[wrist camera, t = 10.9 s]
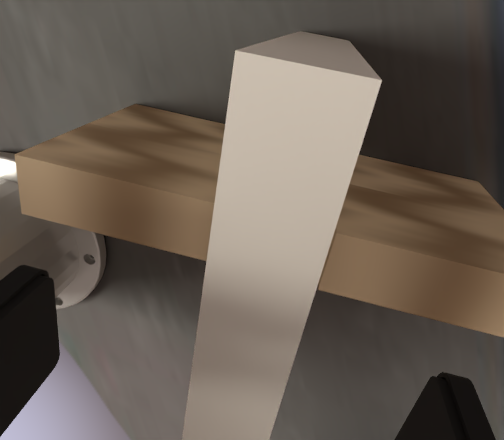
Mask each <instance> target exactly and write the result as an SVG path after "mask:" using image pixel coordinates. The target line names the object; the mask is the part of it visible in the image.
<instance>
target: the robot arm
mask: <svg viewBox="0 0 504 440" xmlns="http://www.w3.org/2000/svg"><path fill="white" fill-rule="evenodd" d="M105 266H106V246H105V240H104V236H103V234H99V233H95V232H91V231H87V230H83V229H79V228H75V227H71V226H68V225H64V224H60V223H56V222H52V221H48V220H44V219H40V218H36V217H32V216H29V215H25V214H22V212H21V204H20V196H19V188H18V179H17V171H16V163H15V155H14V154H13V153H7V152H0V436H1V435H2V434H3V432H4V431H5V430H6V429H7V428H8V426H9V425H10V424H11V422H12V421H13V420H14V419H15V417H16V416H17V415H18V414H19V412H20V411H21V410H22V409H23V407H24V406H25V405H26V403H27V402H28V401H29V400H30V398H31V397H32V396H33V395H34V393H35V392H36V391H37V389H38V388H39V387H40V386H41V384H42V383H43V382H44V381H45V379H46V378H47V377H48V375H49V374H50V373H51V372H52V370H53V369H54V368H55V366H56V364H57V362H58V360H59V355H60V352H59V339H58V326H57V314H56V309H61V308H67V307H70V306H72V305H75V304H77V303H79V302H80V301H82V300H83V299H85V298H86V297H87V296H88V295H89V294H90V293H91V292H92V291H93V290H94V289H95V287H96V286H97V285H98V283H99V281H100V280H101V278H102V276H103V273H104V269H105ZM395 440H496V439H495V437H494V434H493V432H492V429H491V427H490V424H489V422H488V420H487V417H486V415H485V412H484V410H483V407H482V405H481V402H480V400H479V398H478V395H477V393H476V390H475V388H474V385H473V384H472V382H471V381H470V380H469V379H468V378H464V377H460V376H456V375H452V374H448V373H444V372H442V373H440V374H439V375H438V376H437V377H434V376H432V377H431V378H430V379H429V381H428V382H427V384H426V386H425V388H424V389H423V391H422V393H421V395H420V396H419V398H418V400H417V402H416V403H415V405H414V407H413V409H412V410H411V412H410V414H409V416H408V417H407V419H406V421H405V423H404V424H403V426H402V428H401V430H400V431H399V433H398V435H397V437H396V438H395Z"/></svg>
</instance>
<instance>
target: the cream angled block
mask: <svg viewBox="0 0 504 440" xmlns="http://www.w3.org/2000/svg"><path fill="white" fill-rule="evenodd" d="M381 82H382V80H381V78H380V77H379V76H378V75H377V74H376V72H375V71H374V70H373V69H372V68H371V66H370V65H369V64H368V63H367V62H366V60H365V59H364V58H363V57H362V56H361V54H360V53H359V52H358V51H357V50H356V48H355V47H354V46H353V45H352V43H351V42H350V41H349V40H344V39H338V38H333V37H328V36H323V35H318V34H313V33H308V32H303V31H299V32H295V33H292V34H288V35H285V36H282V37H278V38H275V39H272V40H268V41H265V42H262V43H258V44H255V45H252V46H248V47H245V48H242V49H238V50H235V57H234V64H233V72H232V79H231V86H230V94H229V101H228V108H227V115H226V123H225V130H224V137H223V145H222V152H221V159H220V166H219V174H218V181H217V188H216V196H215V203H214V210H213V217H212V225H211V232H210V239H209V247H208V254H207V261H206V268H205V276H204V283H203V290H202V298H201V305H200V312H199V320H198V327H197V334H196V341H195V349H194V356H193V363H192V371H191V378H190V385H189V392H188V400H187V407H186V414H185V422H184V429H183V436H182V440H269V438H270V435H271V432H272V429H273V426H274V423H275V419H276V416H277V413H278V410H279V407H280V403H281V400H282V397H283V394H284V391H285V388H286V384H287V381H288V378H289V375H290V372H291V368H292V365H293V362H294V359H295V356H296V353H297V349H298V346H299V343H300V340H301V337H302V333H303V330H304V327H305V324H306V321H307V318H308V314H309V311H310V308H311V305H312V302H313V298H314V295H315V292H316V289H317V286H318V283H319V279H320V276H321V273H322V270H323V267H324V263H325V260H326V257H327V254H328V251H329V248H330V244H331V241H332V238H333V235H334V232H335V228H336V225H337V222H338V219H339V216H340V213H341V209H342V206H343V203H344V200H345V197H346V193H347V190H348V187H349V184H350V181H351V178H352V174H353V171H354V168H355V165H356V162H357V158H358V155H359V152H360V149H361V146H362V143H363V139H364V136H365V133H366V130H367V127H368V123H369V120H370V117H371V114H372V111H373V108H374V104H375V101H376V98H377V95H378V92H379V88H380V85H381Z"/></svg>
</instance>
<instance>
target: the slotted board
mask: <svg viewBox="0 0 504 440" xmlns="http://www.w3.org/2000/svg"><path fill="white" fill-rule="evenodd" d="M224 130H225V124H222V123H217V122H213V121H209V120H204V119H200V118H195V117H191V116H187V115H182V114H178V113H173V112H169V111H165V110H160V109H156V108H151V107H147V106H142V105H138V104H134V105H131V106H129V107H127V108H124V109H122V110H119V111H117V112H115V113H112V114H110V115H107V116H105V117H103V118H100V119H98V120H96V121H93V122H91V123H88V124H86V125H84V126H81V127H79V128H76V129H74V130H72V131H69V132H67V133H64V134H62V135H60V136H57V137H55V138H53V139H50V140H48V141H45V142H43V143H41V144H38V145H36V146H33V147H31V148H29V149H26V150H24V151H21V152H19V153H17V154H14V155H15V163H16V171H17V179H18V188H19V196H20V204H21V212H22V214H25V215H29V216H32V217H36V218H40V219H44V220H48V221H52V222H56V223H60V224H64V225H68V226H71V227H75V228H79V229H83V230H87V231H91V232H95V233H99V234H103V235H106V236H110V237H114V238H118V239H122V240H126V241H130V242H134V243H138V244H142V245H145V246H149V247H153V248H157V249H161V250H165V251H169V252H173V253H177V254H181V255H184V256H188V257H192V258H196V259H200V260H204V261H207V254H208V247H209V239H210V232H211V225H212V217H213V210H214V203H215V196H216V188H217V181H218V174H219V166H220V159H221V152H222V145H223V137H224ZM318 290H321V291H325V292H329V293H332V294H336V295H340V296H344V297H348V298H352V299H356V300H360V301H364V302H367V303H371V304H375V305H379V306H383V307H387V308H391V309H395V310H399V311H403V312H406V313H410V314H414V315H418V316H422V317H426V318H430V319H434V320H438V321H441V322H445V323H449V324H453V325H457V326H461V327H465V328H469V329H473V330H477V331H480V332H484V333H488V334H492V335H496V336H500V337H504V209H503V208H502V207H501V206H500V205H499V204H498V203H497V202H496V201H495V199H494V198H493V197H492V196H491V195H490V194H489V193H488V192H487V191H486V190H485V188H484V187H483V186H482V185H481V184H480V183H479V182H478V181H473V180H469V179H464V178H460V177H456V176H451V175H447V174H442V173H438V172H434V171H429V170H425V169H420V168H416V167H412V166H407V165H403V164H398V163H394V162H390V161H385V160H381V159H376V158H372V157H367V156H363V155H358V158H357V162H356V165H355V168H354V171H353V174H352V178H351V181H350V184H349V187H348V190H347V193H346V197H345V200H344V203H343V206H342V209H341V213H340V216H339V219H338V222H337V225H336V228H335V232H334V235H333V238H332V241H331V244H330V248H329V251H328V254H327V257H326V260H325V263H324V267H323V270H322V273H321V276H320V279H319V284H318Z"/></svg>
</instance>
